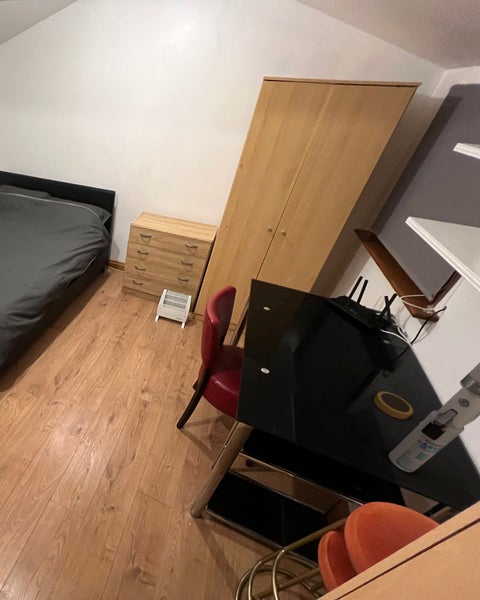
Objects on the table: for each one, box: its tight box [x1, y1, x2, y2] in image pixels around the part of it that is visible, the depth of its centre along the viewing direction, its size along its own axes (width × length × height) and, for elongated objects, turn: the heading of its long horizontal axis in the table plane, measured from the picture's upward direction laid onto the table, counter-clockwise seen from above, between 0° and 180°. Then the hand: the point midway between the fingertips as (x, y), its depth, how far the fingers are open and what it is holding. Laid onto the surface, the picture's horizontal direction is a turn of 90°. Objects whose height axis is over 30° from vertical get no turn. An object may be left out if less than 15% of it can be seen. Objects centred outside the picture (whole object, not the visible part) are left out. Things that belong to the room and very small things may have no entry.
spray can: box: [388, 410, 465, 473], centre depth 91 cm, size 6×6×20 cm
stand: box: [373, 391, 414, 420], centre depth 114 cm, size 10×10×3 cm
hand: (435, 431), depth 88 cm, fingers closed on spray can, 6 cm apart
